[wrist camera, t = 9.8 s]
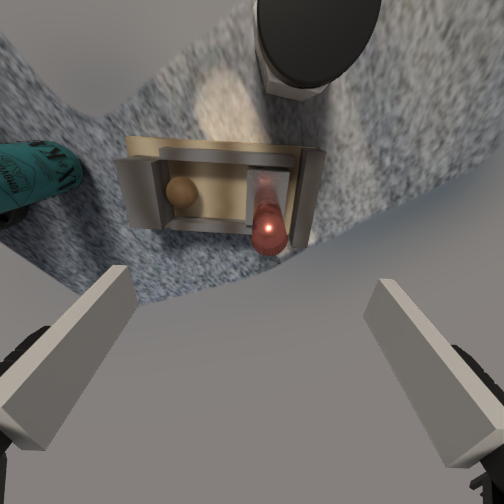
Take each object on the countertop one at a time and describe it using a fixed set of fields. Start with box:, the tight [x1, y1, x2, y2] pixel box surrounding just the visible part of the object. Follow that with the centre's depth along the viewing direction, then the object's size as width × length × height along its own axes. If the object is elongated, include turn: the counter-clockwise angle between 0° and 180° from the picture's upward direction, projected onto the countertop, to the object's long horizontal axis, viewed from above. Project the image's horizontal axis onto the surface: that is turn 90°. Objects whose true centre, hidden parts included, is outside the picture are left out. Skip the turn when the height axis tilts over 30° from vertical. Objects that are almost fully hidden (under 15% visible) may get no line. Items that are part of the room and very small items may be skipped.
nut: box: [166, 177, 198, 209], centre depth 29 cm, size 4×4×4 cm
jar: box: [252, 0, 382, 102], centre depth 20 cm, size 9×8×12 cm
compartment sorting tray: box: [114, 136, 326, 248], centre depth 29 cm, size 24×12×7 cm, turn 87°
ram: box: [245, 166, 290, 256], centre depth 25 cm, size 5×7×14 cm
